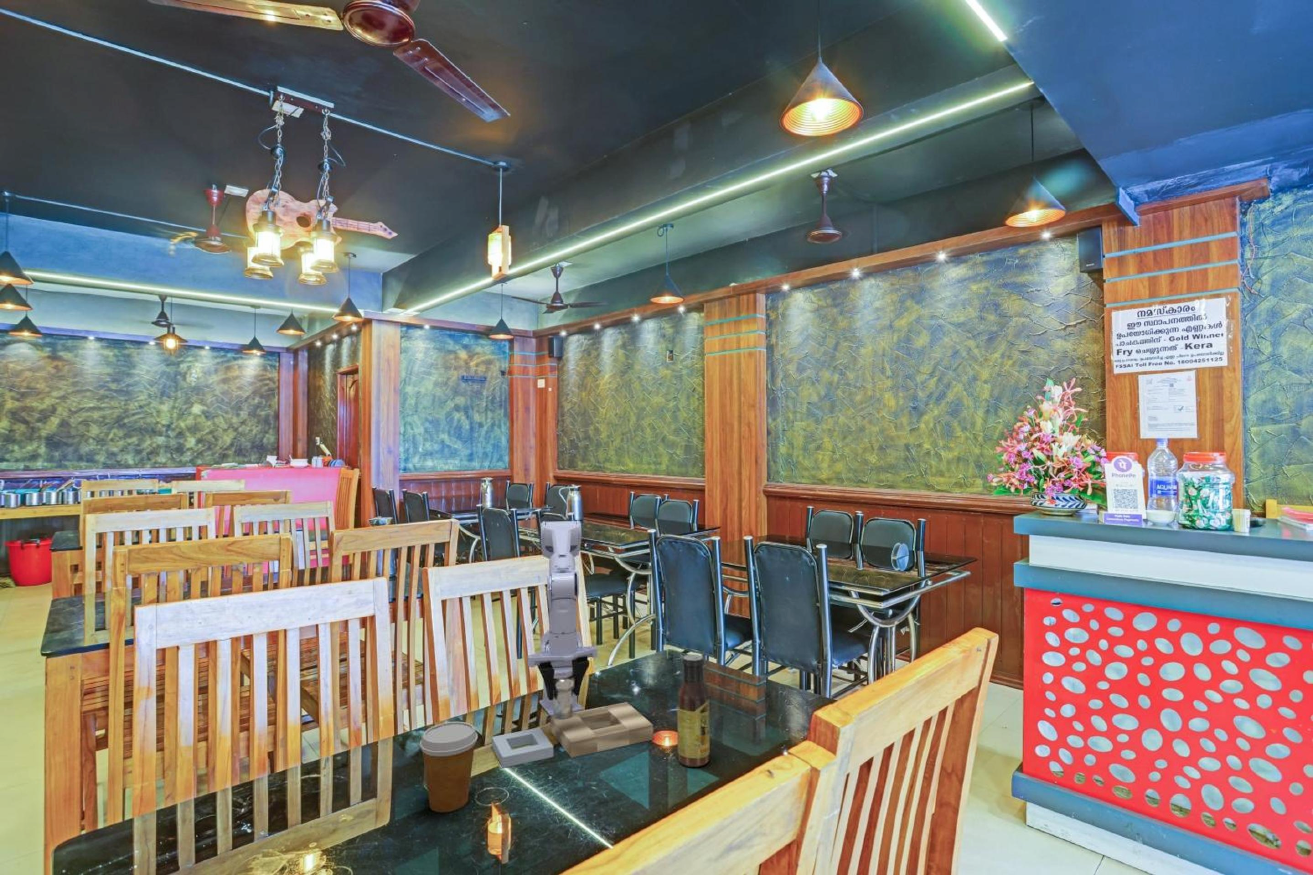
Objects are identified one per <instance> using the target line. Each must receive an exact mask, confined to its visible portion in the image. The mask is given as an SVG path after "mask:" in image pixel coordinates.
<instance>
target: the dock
mask: <svg viewBox="0 0 1313 875" xmlns="http://www.w3.org/2000/svg"><path fill="white" fill-rule="evenodd" d="M550 732H551V733H552V735H553V736H554V737H555V739H556V740H557V741H558V742H559V744H560V745H561V747H562V748H563V749H564V750H565V752H566V753H567V755H568V756H569V757H570V758H576V757H581V756H585V755H589V754H595V753H599V752H603V751H608V750H612V749H616V748H617V749H618V748H621V747H626V746H630V745H634V744H638V743H643V742H649V741H653V740H654V724H652V722H650V721H649V720H648V719H647V718H646V717H645V716H643V715H642V714H641V713H640V712H639V711H638V710H636V709H635V708H634V707H633V706H632V705H631V704H629V703H628V702H627V701H625V702H620V703H615V704H610V705H603V706H601V707H595V708H589V709H583V710H581V711H575V712H573V716H572V717H571V718H569V719H563V720H560V719H555V718H554V717H553V716H550Z"/></svg>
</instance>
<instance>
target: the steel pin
mask: <svg viewBox="0 0 1313 875" xmlns="http://www.w3.org/2000/svg"><path fill="white" fill-rule="evenodd" d="M574 687H575V675H574V674H572V673H557V674H554V679H553V692H554V697H553V717H554V718H555V719H560V720H563V719H569V718H571V717H572V716H573V688H574Z"/></svg>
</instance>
